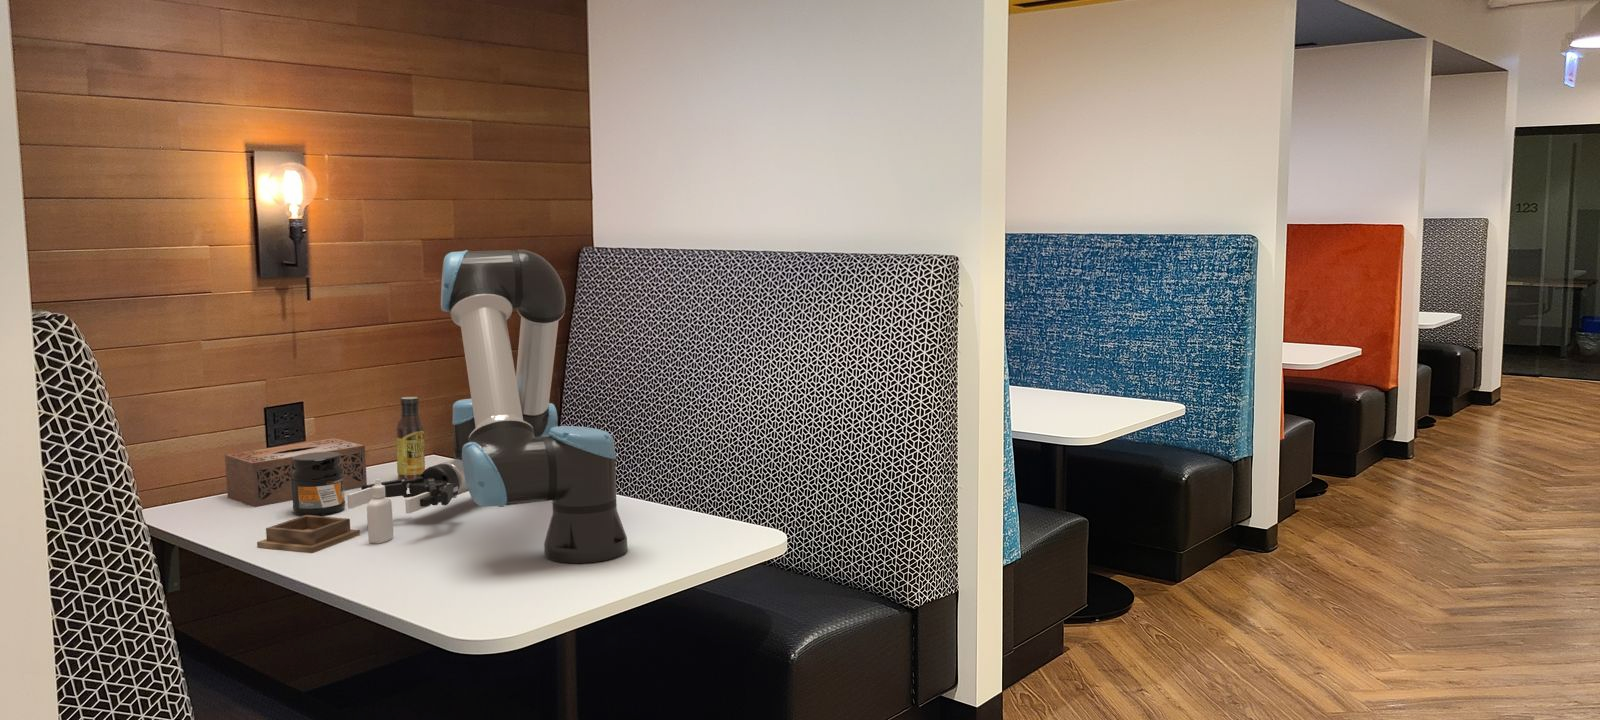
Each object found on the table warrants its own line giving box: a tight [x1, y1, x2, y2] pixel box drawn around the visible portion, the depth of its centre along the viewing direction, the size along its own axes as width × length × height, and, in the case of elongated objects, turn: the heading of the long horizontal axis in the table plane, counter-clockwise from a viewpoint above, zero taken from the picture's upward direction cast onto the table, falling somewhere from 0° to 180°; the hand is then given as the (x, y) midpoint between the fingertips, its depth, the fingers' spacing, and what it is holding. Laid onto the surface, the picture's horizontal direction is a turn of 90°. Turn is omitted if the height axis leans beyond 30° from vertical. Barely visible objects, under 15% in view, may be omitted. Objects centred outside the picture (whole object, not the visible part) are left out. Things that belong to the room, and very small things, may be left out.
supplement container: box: [290, 452, 346, 516], centre depth 251 cm, size 10×10×12 cm
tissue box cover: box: [224, 437, 368, 508], centre depth 269 cm, size 26×14×10 cm, turn 138°
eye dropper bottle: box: [366, 478, 394, 544], centre depth 227 cm, size 4×6×12 cm
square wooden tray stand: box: [256, 515, 361, 554], centre depth 227 cm, size 13×13×4 cm
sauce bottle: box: [396, 396, 426, 480], centre depth 279 cm, size 7×6×20 cm
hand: (377, 504), depth 227 cm, fingers open, 13 cm apart
